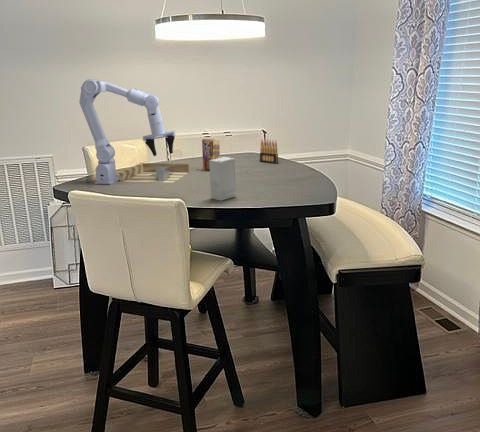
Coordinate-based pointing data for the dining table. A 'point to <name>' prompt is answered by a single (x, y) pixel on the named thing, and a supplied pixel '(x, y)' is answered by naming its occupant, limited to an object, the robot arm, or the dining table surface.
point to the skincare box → (222, 178)
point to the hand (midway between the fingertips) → (163, 154)
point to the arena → (153, 172)
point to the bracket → (162, 173)
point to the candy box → (210, 152)
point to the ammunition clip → (269, 152)
